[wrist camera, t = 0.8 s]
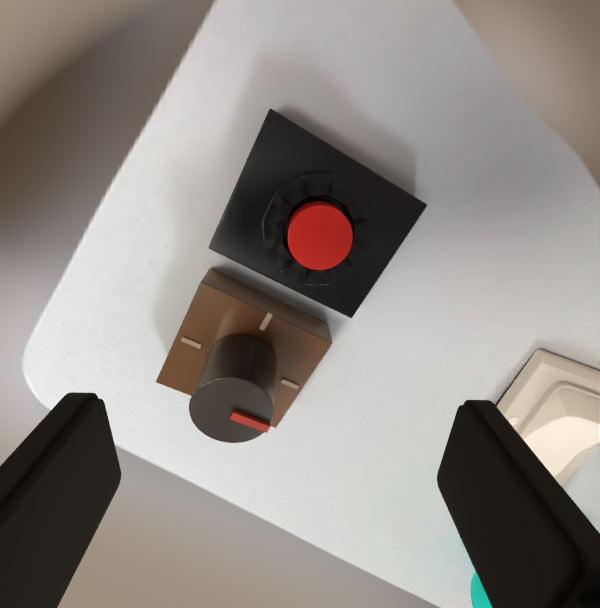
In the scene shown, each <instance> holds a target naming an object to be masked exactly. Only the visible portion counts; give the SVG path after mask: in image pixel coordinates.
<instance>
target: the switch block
mask: <svg viewBox="0 0 600 608" xmlns="http://www.w3.org/2000/svg"><path fill="white" fill-rule="evenodd" d="M313 201H325V202H328V203H331V204H333V205H335V206H336V207H337V208H338V209H340V211H341V212H342V213H343V214H344V215H345V216H346V218H347V219H348V221H349V223H350V225H351V228H352V233H353V240H352V245H351V248H350V250H349V252H348V254H347V256H346V257H345V258H344V259H343V260H342V261H341V262H340V263H339V264H337V265H335V266H333V267H331V268H328V269H323V270H315V269H310V268H307V267H305V266H303V265H302V264H300V263H299V262H298V261H297V260H296V259H295V258H294V257H293V255H292V254H291V252H290V249H289V246H288V225H289V222H290V219H291V217H292V216H293V214H294V213H295V211H296V210H297V209H298V208H300V207H301V206H303V205H304V204H306V203H309V202H313ZM426 206H427V204H425V203H424V202H422V201H421V200H419V199H417V198H416V197H414V196H412V195H411V194H409V193H407V192H406V191H404V190H403V189H401V188H399V187H398V186H396V185H394V184H393V183H391V182H390V181H388V180H386V179H385V178H383V177H381V176H380V175H378V174H377V173H375V172H373V171H372V170H370V169H368V168H367V167H365V166H364V165H362V164H360V163H359V162H357V161H355V160H354V159H352V158H351V157H349V156H347V155H346V154H344V153H342V152H341V151H339V150H337V149H336V148H334V147H333V146H331V145H329V144H328V143H326V142H324V141H323V140H321V139H320V138H318V137H316V136H315V135H313V134H311V133H310V132H308V131H307V130H305V129H303V128H302V127H300V126H298V125H297V124H295V123H294V122H292V121H290V120H289V119H287V118H285V117H284V116H282V115H281V114H279V113H277V112H276V111H274V110H272V109H269V111H268V114H267V116H266V118H265V120H264V123H263V125H262V127H261V130H260V132H259V134H258V136H257V139H256V141H255V143H254V145H253V148H252V150H251V152H250V154H249V157H248V159H247V161H246V164H245V166H244V168H243V170H242V173H241V175H240V177H239V179H238V182H237V184H236V186H235V189H234V191H233V193H232V195H231V198H230V200H229V202H228V204H227V207H226V209H225V211H224V214H223V216H222V218H221V220H220V223H219V225H218V227H217V229H216V232H215V234H214V236H213V239H212V241H211V243H210V245H209V249H211V250H213V251H215V252H217V253H219V254H221V255H223V256H225V257H227V258H229V259H231V260H234V261H236V262H238V263H240V264H242V265H244V266H246V267H248V268H250V269H252V270H254V271H256V272H258V273H260V274H262V275H264V276H266V277H268V278H270V279H272V280H274V281H276V282H278V283H280V284H282V285H285V286H287V287H289V288H291V289H293V290H295V291H297V292H299V293H301V294H303V295H305V296H307V297H309V298H311V299H313V300H315V301H317V302H319V303H321V304H323V305H325V306H327V307H329V308H331V309H334V310H336V311H338V312H340V313H342V314H344V315H346V316H348V317H350V318H352V317H353V315H354V314H355V312H356V311H357V309H358V308H359V306H360V305H361V303H362V302H363V300H364V299H365V297H366V296H367V294H368V293H369V291H370V290H371V288H372V287H373V285H374V284H375V282H376V281H377V279H378V278H379V276H380V275H381V273H382V272H383V270H384V269H385V267H386V266H387V264H388V263H389V261H390V260H391V258H392V257H393V256H394V254H395V253H396V251H397V250H398V248H399V247H400V245H401V244H402V242H403V241H404V239H405V238H406V236H407V235H408V233H409V232H410V230H411V229H412V227H413V226H414V224H415V223H416V221H417V220H418V218H419V217H420V215H421V214H422V212H423V211H424V209H425V208H426Z"/></svg>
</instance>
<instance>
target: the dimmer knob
mask: <svg viewBox="0 0 600 608" xmlns="http://www.w3.org/2000/svg"><path fill="white" fill-rule="evenodd" d="M276 369H277V361H276V357H275V354H274V352H273V351H272V349H271V348H270V347H269V345H268V344H266V343H265V342H264V341H262V340H261V339H259V338H257V337H254V336H251V335H246V334H234V335H230V336H227V337H224V338H222V339H221V340H219V341H218V342H216V343H215V344H214V345H213V347H212V348H211V350H210V352H209V354H208V357H207V359H206V362H205V364H204V367H203V369H202V372H201V374H200V377H199V379H198V382H197V384H196V387H195V389H194V392H193V394H192V397H191V399H190V403H189V412H190V416H191V419H192V421H193V423H194V424H195V426H196V427H197V428H198V429H199V430H200V431H201V432H202V433H204V434H205V435H207V436H209V437H211V438H213V439H215V440H219V441H223V442H230V443H238V442H245V441H249V440H252V439H254V438H256V437H258V436H260V435H261V434H262V433H264V432H266V433H267V431H268V430H269V428H270V426H271V422H272V420H273V416H274V404H275V386H276Z"/></svg>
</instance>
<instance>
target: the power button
mask: <svg viewBox="0 0 600 608" xmlns="http://www.w3.org/2000/svg"><path fill="white" fill-rule="evenodd" d="M352 240H353V233H352V228H351V225H350V223H349V221H348V219H347V218H346V216H345V215H344V214H343V213H342V212H341V211H340V209H338V208H337V207H336V206H335V205H333V204H331V203H328V202H325V201H313V202H309V203H306V204H304V205H303V206H301V207H300V208H298V209H297V210H296V211H295V213H294V214H293V216H292V217H291V219H290V222H289V225H288V246H289V249H290V252H291V254H292V255H293V257H294V258H295V259H296V260H297V261H298V262H299V263H300V264H302V265H303V266H305V267H307V268H310V269H315V270H323V269H328V268H331V267H333V266H335V265H337V264H339V263H340V262H341V261H342V260H343V259H344V258H345V257H346V256H347V254H348V252H349V250H350V248H351V245H352Z"/></svg>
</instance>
